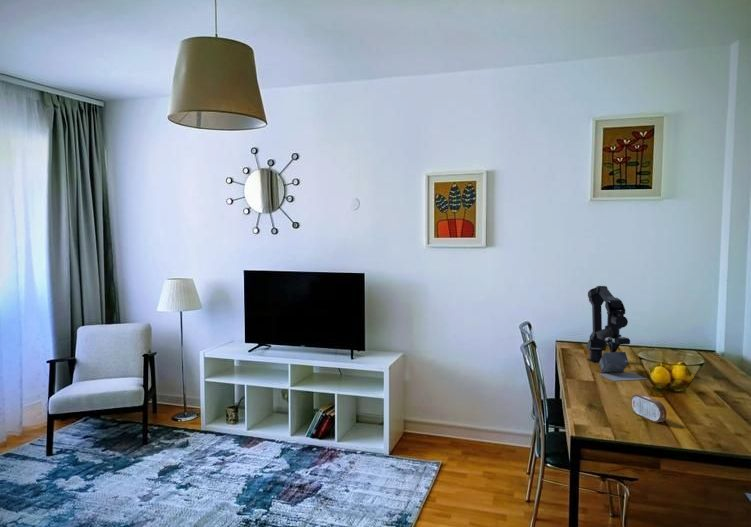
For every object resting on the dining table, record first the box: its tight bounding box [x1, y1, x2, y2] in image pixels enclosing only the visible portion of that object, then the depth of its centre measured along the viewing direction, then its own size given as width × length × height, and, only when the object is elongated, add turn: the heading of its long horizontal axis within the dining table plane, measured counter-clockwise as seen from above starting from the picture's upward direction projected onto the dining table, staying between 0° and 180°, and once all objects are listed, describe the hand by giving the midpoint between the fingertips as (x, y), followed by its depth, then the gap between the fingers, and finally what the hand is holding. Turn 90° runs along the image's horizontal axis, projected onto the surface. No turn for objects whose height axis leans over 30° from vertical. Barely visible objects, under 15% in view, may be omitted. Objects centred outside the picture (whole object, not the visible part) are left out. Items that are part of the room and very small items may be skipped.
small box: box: [598, 351, 629, 374], centre depth 255 cm, size 11×6×10 cm
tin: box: [630, 393, 667, 423], centre depth 194 cm, size 15×3×8 cm, turn 17°
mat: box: [599, 371, 648, 382], centre depth 251 cm, size 12×18×1 cm, turn 101°
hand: (612, 354), depth 258 cm, fingers closed
